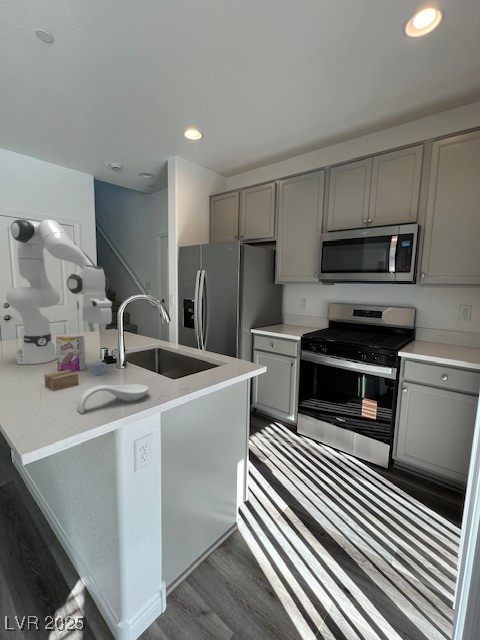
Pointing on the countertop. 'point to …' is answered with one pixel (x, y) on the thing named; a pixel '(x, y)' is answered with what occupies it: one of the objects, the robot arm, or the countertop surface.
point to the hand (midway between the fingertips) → (97, 332)
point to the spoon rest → (115, 393)
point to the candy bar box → (70, 352)
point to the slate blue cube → (98, 368)
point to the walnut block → (61, 380)
